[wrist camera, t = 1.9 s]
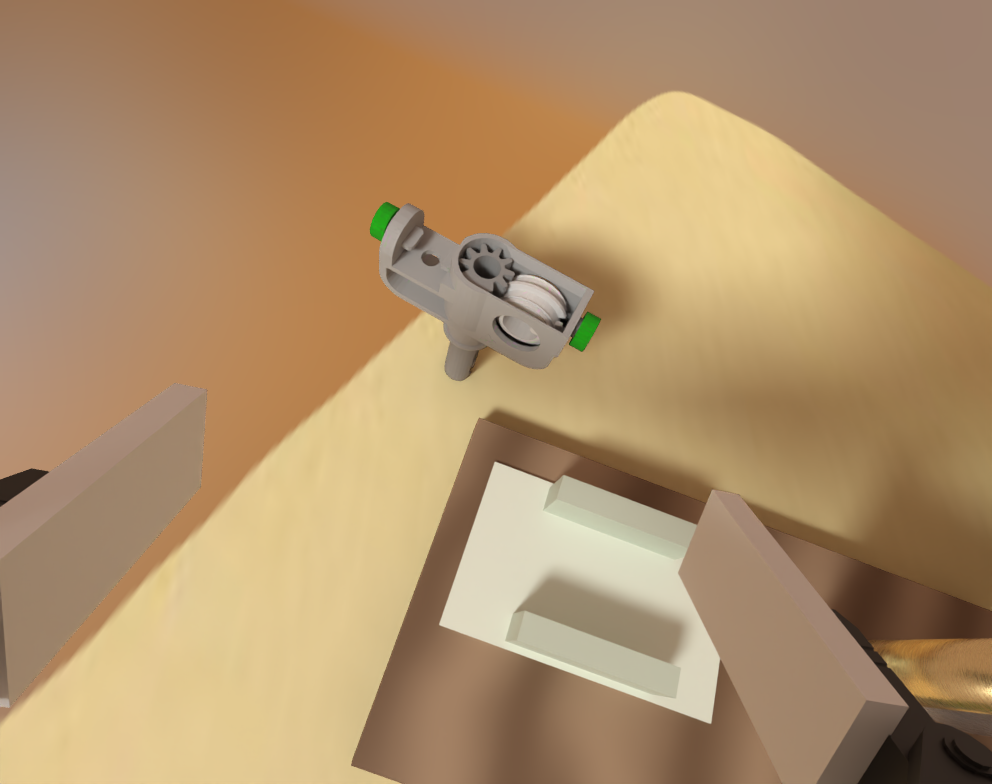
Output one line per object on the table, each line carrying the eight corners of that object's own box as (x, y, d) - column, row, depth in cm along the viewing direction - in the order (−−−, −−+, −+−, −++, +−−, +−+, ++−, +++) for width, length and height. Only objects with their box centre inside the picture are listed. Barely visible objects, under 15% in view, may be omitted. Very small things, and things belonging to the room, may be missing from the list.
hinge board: (979, 617, 33) (1296, 602, 21) (996, 987, 26) (1478, 1252, 14) (474, 427, 32) (527, 306, 20) (352, 759, 25) (330, 852, 13)
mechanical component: (393, 305, 34) (398, 180, 25) (549, 392, 33) (613, 297, 24) (365, 343, 32) (360, 226, 23) (527, 434, 32) (585, 351, 23)
